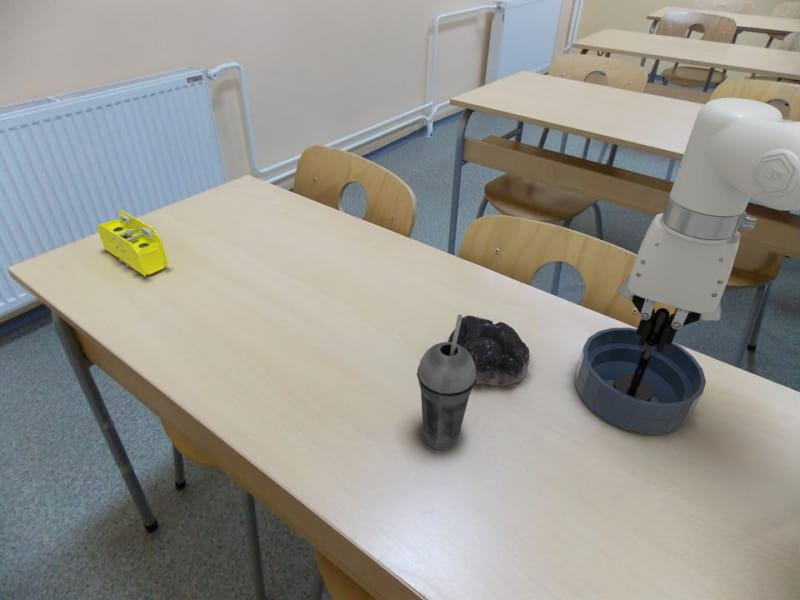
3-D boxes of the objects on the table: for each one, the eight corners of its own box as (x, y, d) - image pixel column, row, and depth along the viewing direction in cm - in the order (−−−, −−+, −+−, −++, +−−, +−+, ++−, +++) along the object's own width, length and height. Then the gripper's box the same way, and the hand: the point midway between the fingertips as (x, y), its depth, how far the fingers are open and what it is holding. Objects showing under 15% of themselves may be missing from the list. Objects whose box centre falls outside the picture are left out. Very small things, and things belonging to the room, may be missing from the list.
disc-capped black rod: (657, 404, 73) (696, 316, 64) (628, 413, 72) (663, 325, 63) (632, 379, 77) (665, 293, 68) (603, 388, 76) (633, 301, 67)
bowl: (716, 419, 73) (732, 388, 70) (622, 450, 68) (635, 419, 65) (636, 347, 85) (647, 318, 82) (553, 369, 81) (561, 340, 77)
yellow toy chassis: (172, 268, 102) (161, 231, 97) (144, 280, 99) (132, 242, 94) (130, 242, 110) (119, 206, 105) (104, 252, 107) (90, 215, 102)
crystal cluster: (482, 327, 90) (481, 279, 84) (550, 360, 82) (555, 310, 76) (430, 368, 83) (425, 319, 77) (499, 409, 74) (499, 358, 69)
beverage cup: (402, 431, 70) (406, 314, 59) (443, 407, 74) (454, 293, 62) (437, 468, 66) (449, 349, 54) (479, 440, 69) (498, 324, 57)
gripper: (780, 220, 58) (718, 346, 68) (633, 190, 64) (597, 310, 74) (782, 249, 52) (715, 381, 63) (621, 213, 58) (584, 338, 69)
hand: (651, 341), depth 69 cm, fingers closed on disc-capped black rod
